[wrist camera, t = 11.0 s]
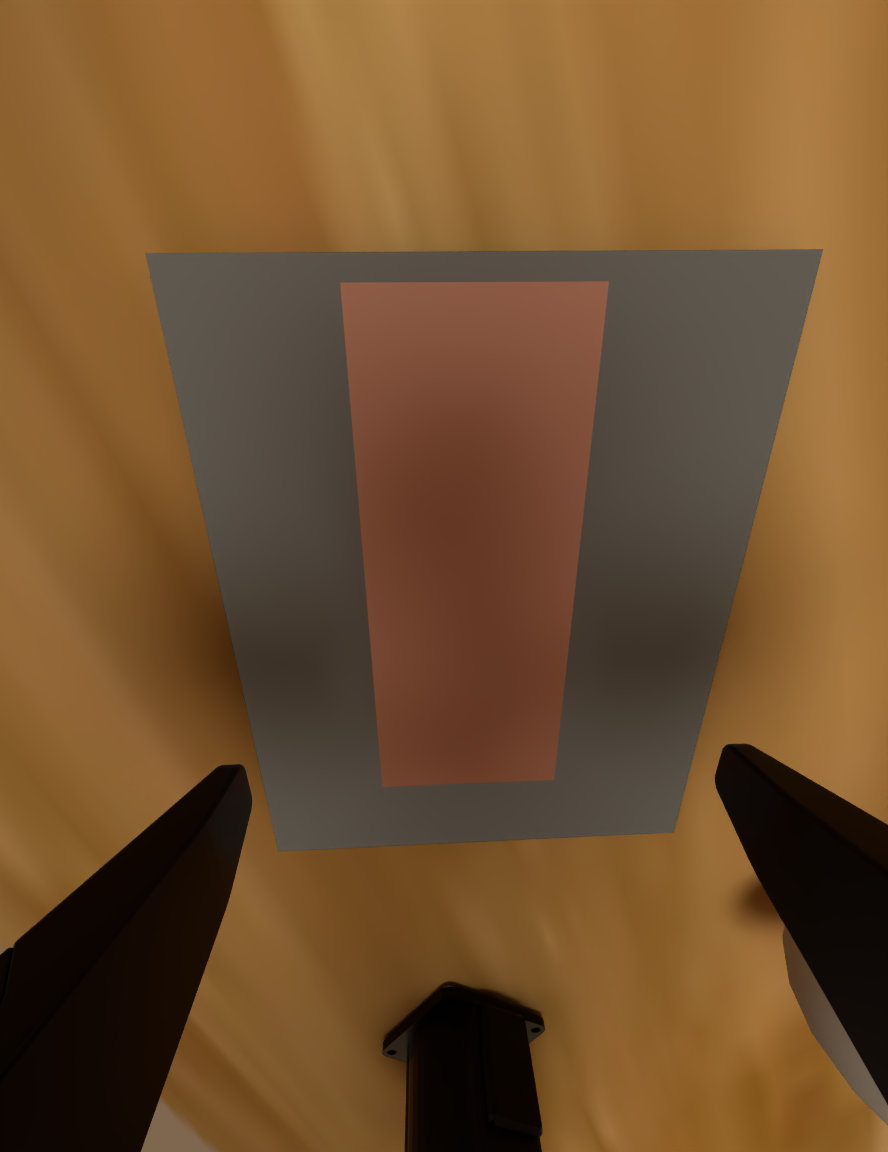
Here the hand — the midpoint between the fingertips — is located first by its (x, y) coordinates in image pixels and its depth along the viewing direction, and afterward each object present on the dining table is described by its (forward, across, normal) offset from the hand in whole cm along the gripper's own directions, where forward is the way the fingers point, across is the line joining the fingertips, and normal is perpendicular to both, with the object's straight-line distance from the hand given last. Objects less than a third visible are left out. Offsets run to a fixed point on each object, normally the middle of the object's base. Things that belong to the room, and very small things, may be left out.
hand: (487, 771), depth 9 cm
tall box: (+5, 0, +4) cm, 6 cm away
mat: (+7, -1, 0) cm, 7 cm away
